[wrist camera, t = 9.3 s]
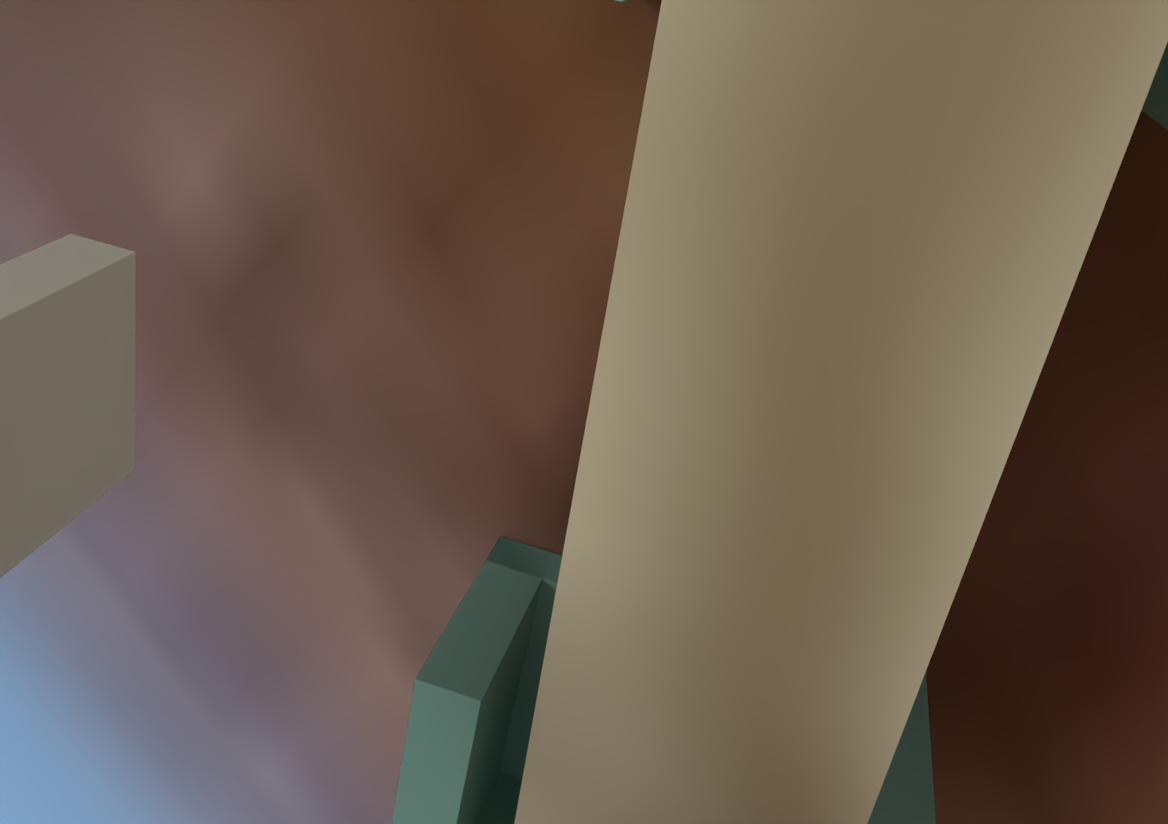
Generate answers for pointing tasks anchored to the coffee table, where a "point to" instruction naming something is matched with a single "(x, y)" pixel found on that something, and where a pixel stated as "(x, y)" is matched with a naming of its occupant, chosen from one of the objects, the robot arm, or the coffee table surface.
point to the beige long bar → (813, 385)
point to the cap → (508, 697)
